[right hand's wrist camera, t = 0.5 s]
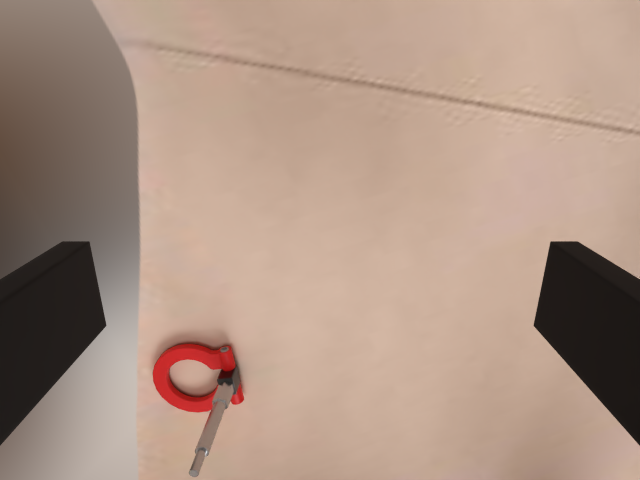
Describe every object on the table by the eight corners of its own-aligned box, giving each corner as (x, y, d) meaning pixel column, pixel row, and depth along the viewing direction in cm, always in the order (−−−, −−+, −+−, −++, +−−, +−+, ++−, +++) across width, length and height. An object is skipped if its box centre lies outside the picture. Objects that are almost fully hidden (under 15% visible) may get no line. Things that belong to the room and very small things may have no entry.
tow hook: (168, 408, 48) (248, 401, 47) (110, 517, 36) (215, 511, 35) (147, 345, 45) (231, 336, 44) (76, 441, 33) (190, 431, 32)
